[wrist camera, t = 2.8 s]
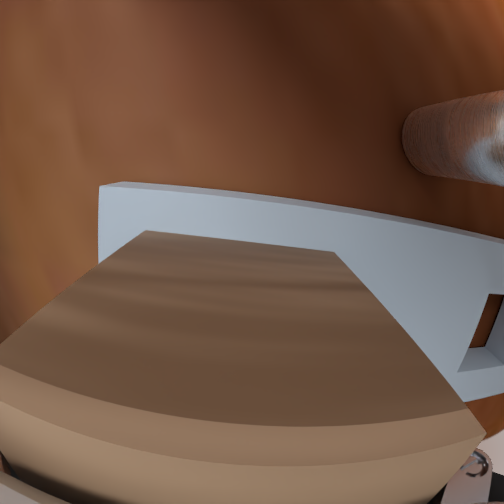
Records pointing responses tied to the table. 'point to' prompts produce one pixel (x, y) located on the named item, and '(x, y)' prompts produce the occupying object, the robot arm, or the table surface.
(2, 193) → the table surface
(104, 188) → the board
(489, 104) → the peg
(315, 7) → the table surface
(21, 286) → the table surface
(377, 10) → the table surface
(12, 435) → the wooden box
